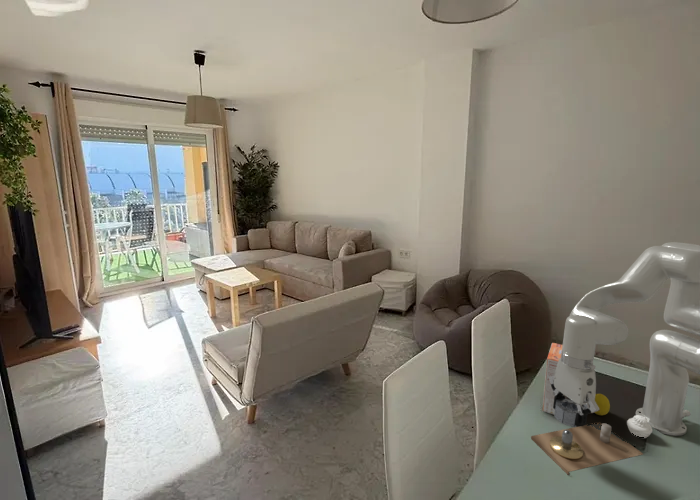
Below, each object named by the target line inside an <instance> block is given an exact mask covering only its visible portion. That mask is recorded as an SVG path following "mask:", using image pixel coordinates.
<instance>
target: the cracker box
mask: <svg viewBox="0 0 700 500" xmlns="http://www.w3.org/2000/svg"><path fill="white" fill-rule="evenodd" d="M562 346H563V344H560V343H555V342H552V343H551V345H550V348H549V352H548V354H547V358H546V365H545V366H546V367H545V379H544V387H543V400H542V412H543V413H544V412H546V413H547V414H550V415H553V416H554V414H555V409H554V408H553V404H554V397H555V396H554V395H553V389H552V387H551V383H550V380H549V377H550V376H554V375H555V371H556V367H557V364H558V361H559V359H560V358H561V353H562ZM563 395H564V394H563ZM564 396H565V395H564ZM565 397H566V396H565Z"/></svg>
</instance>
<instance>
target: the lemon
mask: <svg viewBox="0 0 700 500" xmlns="http://www.w3.org/2000/svg"><path fill="white" fill-rule="evenodd" d="M595 402H596V404H597V405H598V407H599V411H597V412H594V413H593V414H596V415H598V416H605V415H608V413H609V411H610V408H611V405H610V400H609V398H608V397H607V396H606V395H604V394H602V393H595Z"/></svg>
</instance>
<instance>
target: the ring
mask: <svg viewBox="0 0 700 500" xmlns="http://www.w3.org/2000/svg"><path fill="white" fill-rule="evenodd" d="M582 408H583V410H584V405H582ZM576 413H579V412H578V408H577V404H576V403H575V402H574V401H572V400H571V399H570V398H565V399H558V400H556V405H555V414H554V415H553V418H555V419H556V420H557V421H558V422H560V423H561V424H562V425H566V426H568V427H570V428H573V427H577V426H575V419H576ZM579 427H580V426H579Z"/></svg>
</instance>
